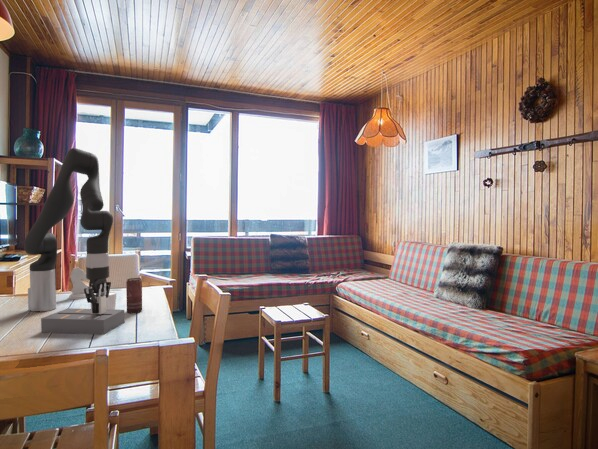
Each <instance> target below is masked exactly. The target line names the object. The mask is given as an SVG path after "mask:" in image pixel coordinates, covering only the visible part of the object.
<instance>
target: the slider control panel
mask: <svg viewBox="0 0 598 449" xmlns="http://www.w3.org/2000/svg"><path fill="white" fill-rule="evenodd" d="M124 323H125V309H115V310H114V309H106V312H105V313H103V314H101V315H96V314H91V308H69V307H68V308H65V309H62V310H60V311H59V310H58V311H57V312H54V313H52V314H49V315H47V316H44V317H41V318H40V328H41V329H40V330H41V331H40V332H41V333H45V332H51V334H79V335H80V334H84V335H85V334H86V335H87V334H88V335H105V334H106V333H109V332H110V331H112V330H115V329H116V328H117V327H120V326H121V325H123V324H124Z"/></svg>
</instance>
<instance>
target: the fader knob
mask: <svg viewBox="0 0 598 449" xmlns="http://www.w3.org/2000/svg"><path fill="white" fill-rule="evenodd" d="M95 299H96V297H95ZM90 309H91V314H93V313H92V303H90ZM105 312H106V296H100V297H99V313H97V314H96V315H101V314H103V313H105Z"/></svg>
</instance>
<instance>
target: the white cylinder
mask: <svg viewBox="0 0 598 449" xmlns="http://www.w3.org/2000/svg"><path fill="white" fill-rule="evenodd" d="M116 302H117V292H114V291H113V292H110V291H109V296H108V298H106V309H114V310H116V305H117V303H116Z"/></svg>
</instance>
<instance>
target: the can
mask: <svg viewBox="0 0 598 449" xmlns="http://www.w3.org/2000/svg"><path fill="white" fill-rule="evenodd" d="M125 286H126V288H125V289H126V292H125V293H126V312H127V313H128V314H137V313H140V312H142V311H143V280H142V278H139V277H137V278H136V277H135V278H134V277H132V278H127V279H126V282H125Z"/></svg>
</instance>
